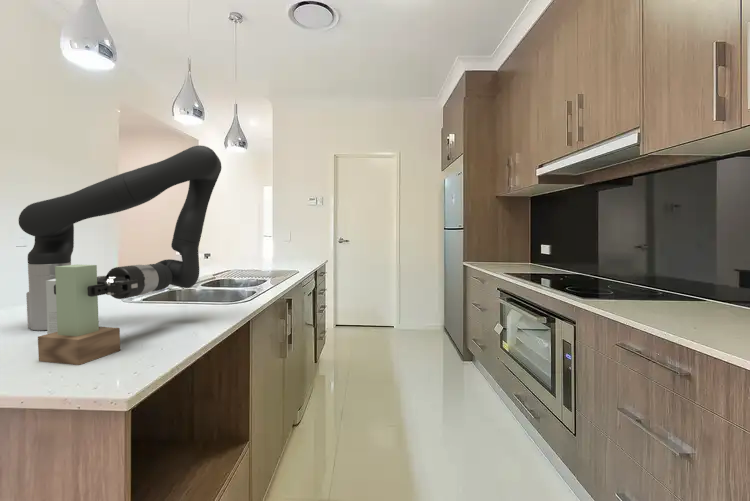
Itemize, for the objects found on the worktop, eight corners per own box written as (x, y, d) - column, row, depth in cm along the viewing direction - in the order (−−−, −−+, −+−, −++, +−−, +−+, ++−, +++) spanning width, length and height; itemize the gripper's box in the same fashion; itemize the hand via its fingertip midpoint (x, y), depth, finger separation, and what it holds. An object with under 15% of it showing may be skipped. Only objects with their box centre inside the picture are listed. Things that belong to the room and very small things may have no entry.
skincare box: (68, 333, 108) (66, 275, 107) (93, 333, 109) (91, 275, 108) (46, 343, 100) (43, 279, 99) (73, 342, 100) (71, 279, 100)
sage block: (57, 334, 88) (55, 266, 87) (79, 329, 93) (77, 264, 92) (77, 336, 87) (75, 267, 86) (98, 330, 91) (96, 265, 91)
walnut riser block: (38, 361, 86) (37, 336, 86) (82, 347, 96) (81, 325, 96) (79, 364, 84) (78, 339, 84) (120, 350, 94) (119, 328, 94)
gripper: (108, 264, 105) (43, 271, 89) (158, 266, 102) (100, 273, 86) (108, 295, 105) (44, 307, 90) (158, 297, 102) (101, 310, 87)
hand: (71, 290), depth 88 cm, fingers open, 8 cm apart
